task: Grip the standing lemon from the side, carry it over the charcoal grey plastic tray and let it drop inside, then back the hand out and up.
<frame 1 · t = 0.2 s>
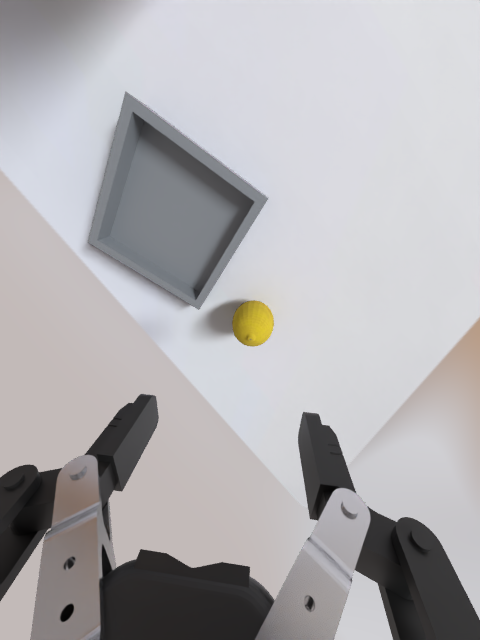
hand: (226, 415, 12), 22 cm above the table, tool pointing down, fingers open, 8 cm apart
tray: (180, 219, 29), on the table
lemon: (255, 308, 34), on the table
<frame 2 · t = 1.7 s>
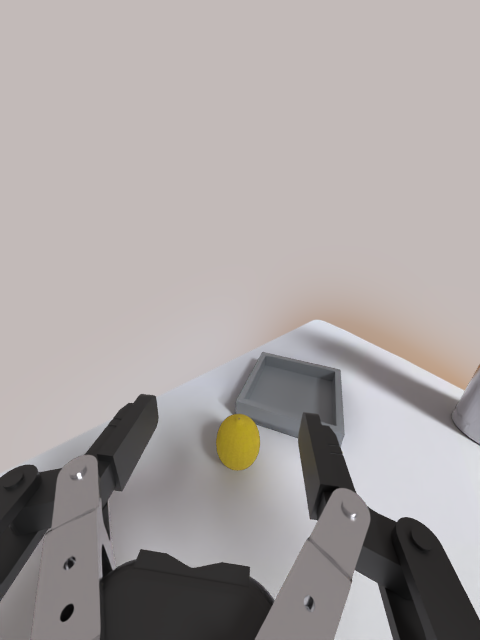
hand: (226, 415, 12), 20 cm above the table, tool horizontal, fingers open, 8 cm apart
tray: (291, 398, 42), on the table
lemon: (236, 463, 30), on the table
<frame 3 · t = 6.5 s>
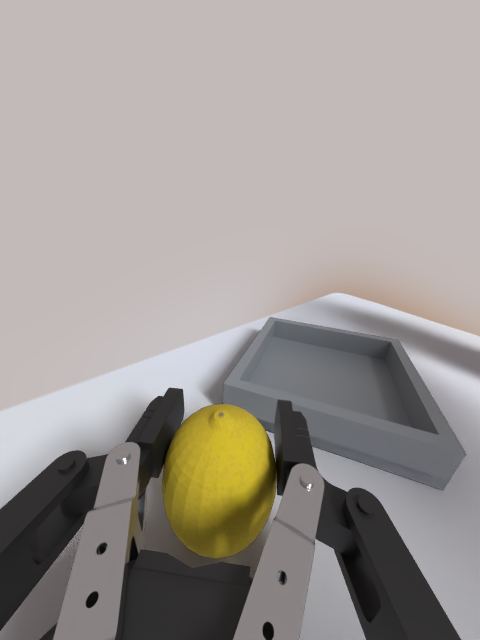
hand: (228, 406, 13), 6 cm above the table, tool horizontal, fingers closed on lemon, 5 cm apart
tray: (321, 385, 24), on the table
lemon: (219, 522, 13), on the table, touching gripper
when the fingers open (9 cm above the table, at t = 11.8 s): lemon drops 2 cm, resting on tray.
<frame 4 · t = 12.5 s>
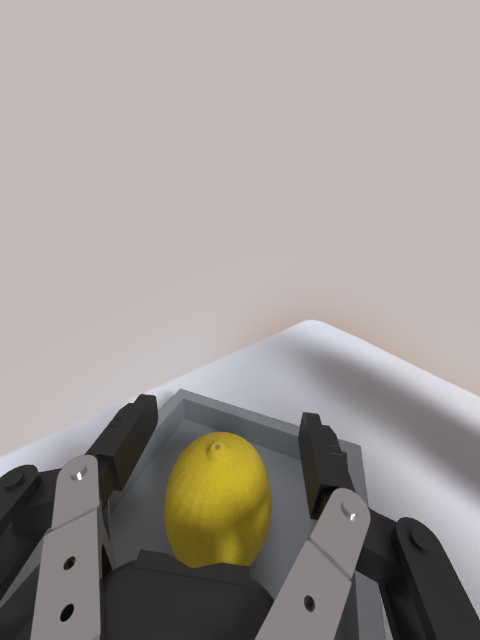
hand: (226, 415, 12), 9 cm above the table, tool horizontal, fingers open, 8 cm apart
tray: (218, 547, 14), on the table
lemon: (220, 542, 14), point 1 cm above the table, touching tray
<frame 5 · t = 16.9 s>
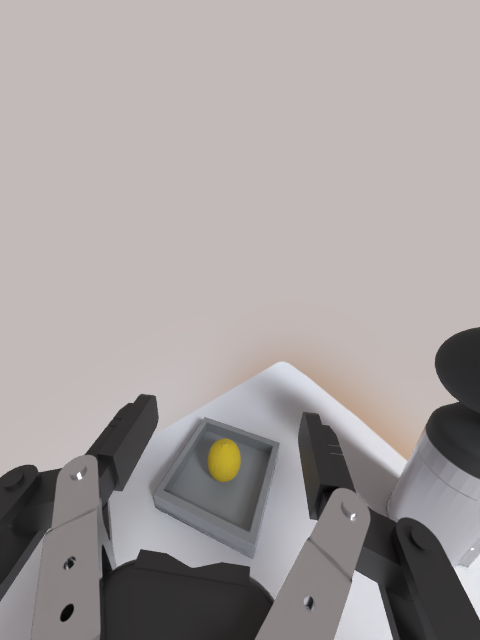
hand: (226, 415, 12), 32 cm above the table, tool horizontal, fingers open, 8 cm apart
tray: (223, 478, 40), on the table
lemon: (223, 476, 40), point 1 cm above the table, touching tray
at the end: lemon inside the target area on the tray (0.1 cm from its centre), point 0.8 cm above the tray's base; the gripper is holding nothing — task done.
